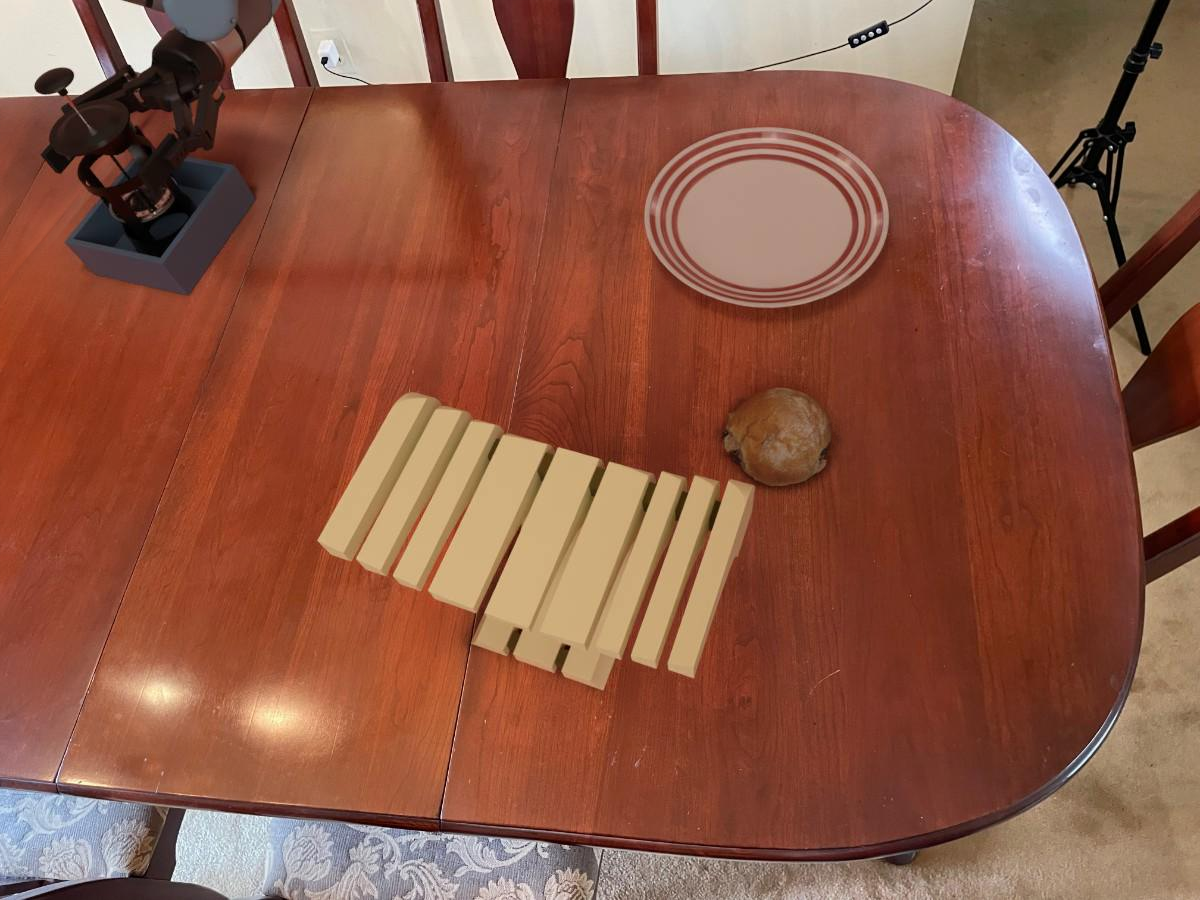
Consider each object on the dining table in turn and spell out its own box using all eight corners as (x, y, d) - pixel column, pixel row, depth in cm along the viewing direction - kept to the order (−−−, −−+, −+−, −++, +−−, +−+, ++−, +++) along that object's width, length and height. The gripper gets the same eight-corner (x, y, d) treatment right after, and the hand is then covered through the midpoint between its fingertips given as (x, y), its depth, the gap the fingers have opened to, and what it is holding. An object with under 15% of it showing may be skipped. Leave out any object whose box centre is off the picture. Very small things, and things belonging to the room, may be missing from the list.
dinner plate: (916, 180, 100) (923, 158, 97) (835, 354, 89) (840, 335, 86) (703, 125, 109) (703, 103, 106) (605, 278, 98) (602, 258, 95)
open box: (93, 274, 107) (63, 242, 102) (165, 182, 114) (140, 147, 109) (188, 296, 103) (162, 263, 98) (256, 199, 111) (235, 164, 106)
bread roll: (793, 512, 85) (838, 487, 78) (703, 469, 83) (741, 441, 76) (814, 429, 89) (858, 399, 82) (729, 388, 88) (766, 353, 81)
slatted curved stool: (746, 557, 79) (757, 468, 64) (695, 723, 72) (693, 667, 57) (461, 473, 87) (410, 375, 72) (391, 615, 80) (317, 540, 65)
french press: (198, 263, 105) (80, 106, 85) (126, 270, 106) (-8, 117, 86) (216, 194, 111) (110, 33, 91) (148, 202, 111) (27, 43, 92)
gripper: (295, 93, 105) (205, 216, 96) (133, 68, 112) (34, 181, 102) (268, 38, 99) (169, 164, 90) (98, 15, 105) (-11, 131, 96)
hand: (97, 173), depth 96 cm, fingers open, 13 cm apart
